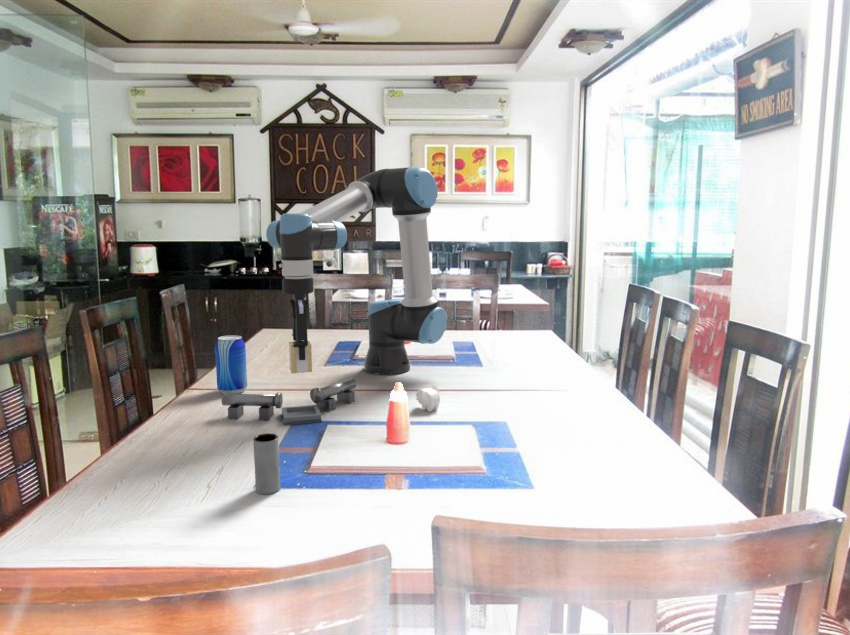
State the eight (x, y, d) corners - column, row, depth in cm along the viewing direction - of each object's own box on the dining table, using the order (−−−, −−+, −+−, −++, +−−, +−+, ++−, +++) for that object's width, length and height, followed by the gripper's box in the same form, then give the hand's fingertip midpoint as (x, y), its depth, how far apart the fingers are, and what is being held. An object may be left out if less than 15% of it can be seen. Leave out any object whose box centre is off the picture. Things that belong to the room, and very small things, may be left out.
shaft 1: (283, 414, 168) (282, 390, 167) (278, 420, 164) (277, 395, 163) (227, 413, 170) (226, 389, 169) (221, 419, 165) (219, 394, 164)
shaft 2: (322, 414, 169) (321, 389, 168) (309, 411, 172) (309, 387, 171) (359, 400, 181) (358, 377, 180) (346, 397, 184) (346, 375, 183)
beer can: (239, 396, 186) (236, 340, 183) (212, 394, 188) (208, 339, 185) (252, 388, 194) (250, 335, 191) (226, 386, 196) (223, 334, 193)
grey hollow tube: (258, 485, 125) (255, 433, 124) (281, 484, 126) (279, 432, 124) (253, 495, 121) (251, 441, 119) (278, 494, 121) (276, 441, 120)
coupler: (290, 368, 166) (288, 341, 165) (309, 367, 167) (308, 340, 166) (291, 373, 160) (290, 345, 159) (312, 372, 162) (311, 344, 161)
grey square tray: (317, 411, 171) (317, 404, 171) (321, 421, 163) (321, 414, 163) (282, 414, 169) (281, 407, 169) (284, 425, 160) (284, 418, 160)
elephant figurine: (427, 403, 178) (426, 382, 177) (448, 409, 172) (448, 387, 171) (408, 408, 173) (408, 387, 172) (430, 415, 168) (430, 392, 167)
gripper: (279, 274, 168) (283, 362, 172) (284, 281, 150) (288, 379, 154) (308, 273, 170) (311, 360, 174) (317, 280, 152) (320, 377, 156)
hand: (301, 369), depth 164 cm, fingers closed on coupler, 6 cm apart
